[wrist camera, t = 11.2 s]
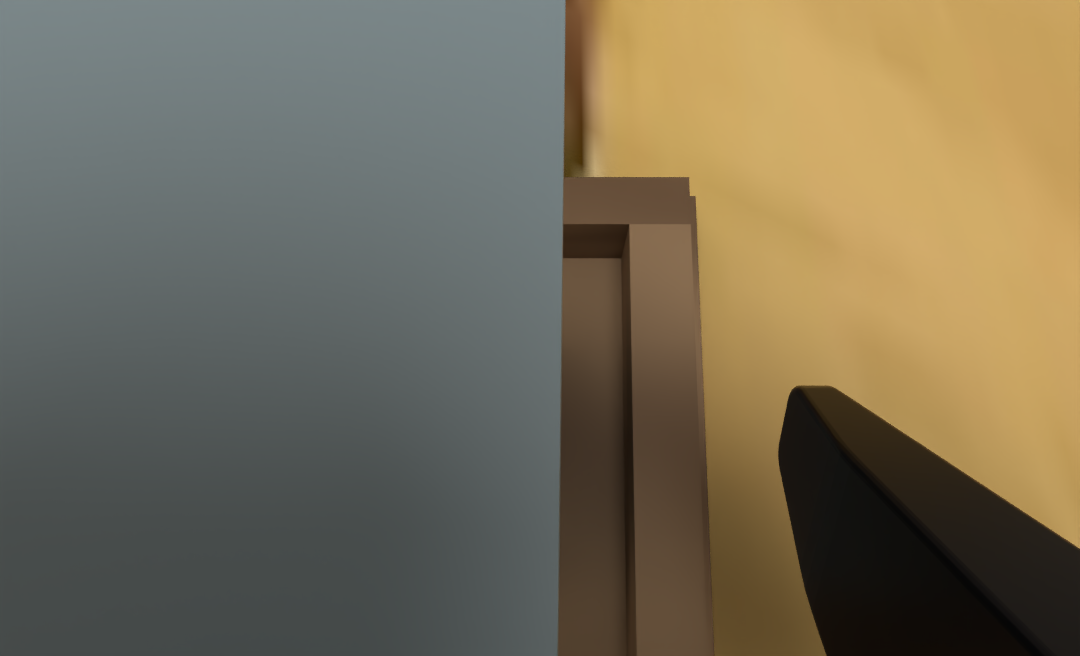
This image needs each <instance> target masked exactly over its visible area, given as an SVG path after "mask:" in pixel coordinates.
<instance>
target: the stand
mask: <svg viewBox="0 0 1080 656" xmlns="http://www.w3.org/2000/svg"><path fill="white" fill-rule="evenodd" d="M558 656H714V635H713V610H712V586H711V562H710V538H709V514H708V489H707V465H706V441H705V417H704V392H703V368H702V344H701V320H700V295H699V271H698V247H697V223H696V198H695V196H690V192H689V177H564V198H563V298H562V390H561V474H560V558H559V629H558Z"/></svg>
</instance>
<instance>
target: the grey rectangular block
mask: <svg viewBox="0 0 1080 656" xmlns="http://www.w3.org/2000/svg"><path fill="white" fill-rule="evenodd" d="M564 97H565V0H0V656H558V629H559V558H560V474H561V390H562V298H563V198H564Z"/></svg>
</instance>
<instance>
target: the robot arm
mask: <svg viewBox="0 0 1080 656" xmlns="http://www.w3.org/2000/svg"><path fill="white" fill-rule="evenodd" d="M778 457H779V467H780V472H781V477H782V482H783V487H784V492H785V496H786V501H787V506H788V511H789V516H790V521H791V525H792V530H793V535H794V540H795V545H796V550H797V555H798V559H799V564H800V569H801V574H802V578H803V582H804V587H805V591H806V594H807V597H808V601H809V604H810V607H811V610H812V614H813V617H814V620H815V623H816V626H817V629H818V632H819V635H820V638H821V640H822V643H823V646H824V649H825V652H826V655H827V656H1080V549H1079V548H1078V547H1076V546H1075V545H1073V544H1072V543H1070V542H1069V541H1067V540H1066V539H1064V538H1063V537H1061V536H1060V535H1058V534H1057V533H1055V532H1054V531H1052V530H1050V529H1049V528H1047V527H1046V526H1044V525H1043V524H1041V523H1040V522H1038V521H1037V520H1035V519H1034V518H1032V517H1031V516H1029V515H1028V514H1026V513H1025V512H1023V511H1022V510H1020V509H1019V508H1017V507H1015V506H1014V505H1012V504H1011V503H1009V502H1008V501H1006V500H1005V499H1003V498H1002V497H1000V496H999V495H997V494H996V493H994V492H993V491H991V490H990V489H988V488H987V487H985V486H984V485H982V484H980V483H979V482H977V481H976V480H974V479H973V478H971V477H970V476H968V475H967V474H965V473H964V472H962V471H961V470H959V469H958V468H956V467H955V466H953V465H952V464H950V463H949V462H947V461H945V460H944V459H942V458H941V457H939V456H938V455H936V454H935V453H933V452H932V451H930V450H929V449H927V448H926V447H924V446H923V445H921V444H920V443H918V442H917V441H915V440H914V439H912V438H910V437H909V436H907V435H906V434H904V433H903V432H901V431H900V430H898V429H897V428H895V427H894V426H892V425H891V424H889V423H888V422H886V421H885V420H883V419H882V418H880V417H879V416H877V415H875V414H874V413H872V412H871V411H869V410H868V409H866V408H865V407H863V406H862V405H860V404H859V403H857V402H856V401H854V400H853V399H851V398H850V397H848V396H847V395H845V394H844V393H842V392H840V391H839V390H837V389H836V388H834V387H831V386H796V387H795V388H793V389H792V391H791V393H790V395H789V398H788V402H787V407H786V412H785V417H784V422H783V427H782V432H781V437H780V442H779V451H778Z"/></svg>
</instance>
